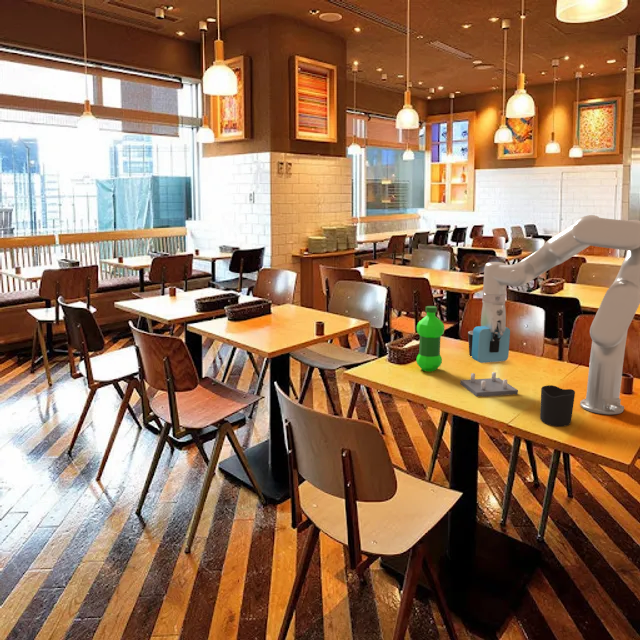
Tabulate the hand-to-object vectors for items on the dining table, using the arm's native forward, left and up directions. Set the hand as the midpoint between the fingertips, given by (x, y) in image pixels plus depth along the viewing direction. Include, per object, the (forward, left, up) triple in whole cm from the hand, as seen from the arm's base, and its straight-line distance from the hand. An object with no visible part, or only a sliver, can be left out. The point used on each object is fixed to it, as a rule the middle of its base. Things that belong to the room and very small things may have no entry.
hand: (490, 349), depth 207 cm
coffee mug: (+41, -14, -15) cm, 46 cm away
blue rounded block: (0, 0, -4) cm, 4 cm away
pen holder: (-32, -7, -15) cm, 36 cm away
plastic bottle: (+26, +12, -15) cm, 32 cm away
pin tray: (0, 0, -14) cm, 14 cm away
